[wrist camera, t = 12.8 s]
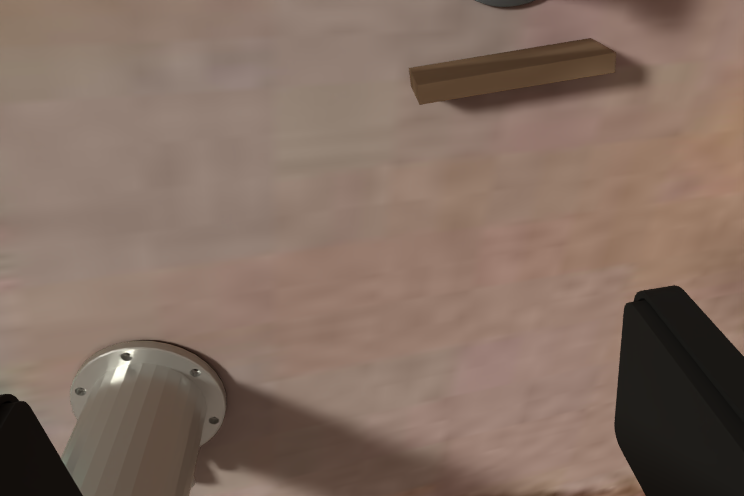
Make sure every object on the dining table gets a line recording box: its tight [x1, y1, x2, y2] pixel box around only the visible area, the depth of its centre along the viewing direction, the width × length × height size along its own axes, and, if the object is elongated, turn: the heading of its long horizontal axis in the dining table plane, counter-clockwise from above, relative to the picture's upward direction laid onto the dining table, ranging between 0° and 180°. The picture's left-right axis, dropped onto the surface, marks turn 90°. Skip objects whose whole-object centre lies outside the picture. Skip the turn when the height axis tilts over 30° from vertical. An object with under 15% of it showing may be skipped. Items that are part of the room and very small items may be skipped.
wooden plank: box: [409, 38, 616, 105], centre depth 39 cm, size 1×12×4 cm, turn 98°
